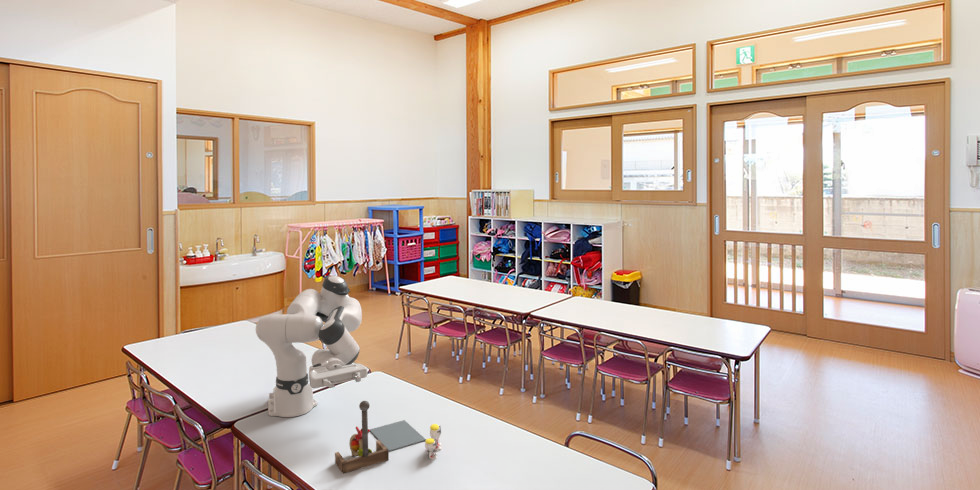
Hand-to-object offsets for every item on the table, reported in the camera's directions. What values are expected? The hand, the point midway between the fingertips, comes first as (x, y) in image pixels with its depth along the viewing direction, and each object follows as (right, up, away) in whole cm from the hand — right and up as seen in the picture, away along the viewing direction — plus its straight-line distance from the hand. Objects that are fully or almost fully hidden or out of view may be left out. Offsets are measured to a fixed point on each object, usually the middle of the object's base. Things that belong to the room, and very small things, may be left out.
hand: (345, 382), depth 186 cm
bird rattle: (+6, -23, -7) cm, 25 cm away
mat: (+16, -21, +8) cm, 28 cm away
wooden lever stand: (+8, -24, -10) cm, 27 cm away
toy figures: (+31, -23, -3) cm, 39 cm away
